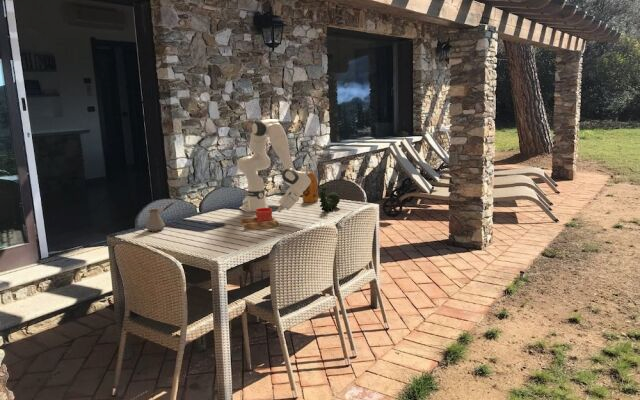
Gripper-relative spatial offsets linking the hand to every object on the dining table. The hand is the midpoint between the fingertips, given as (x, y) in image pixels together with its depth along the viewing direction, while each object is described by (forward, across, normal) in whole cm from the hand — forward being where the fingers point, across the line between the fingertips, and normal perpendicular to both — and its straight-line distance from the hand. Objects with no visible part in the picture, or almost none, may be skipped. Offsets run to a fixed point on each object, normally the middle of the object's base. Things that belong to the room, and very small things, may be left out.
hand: (278, 211), depth 314 cm
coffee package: (-20, -58, +31) cm, 69 cm away
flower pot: (+12, 0, -1) cm, 12 cm away
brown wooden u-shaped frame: (+14, 0, -4) cm, 15 cm away
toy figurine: (-24, -23, +34) cm, 48 cm away
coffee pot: (+56, -20, -45) cm, 74 cm away
